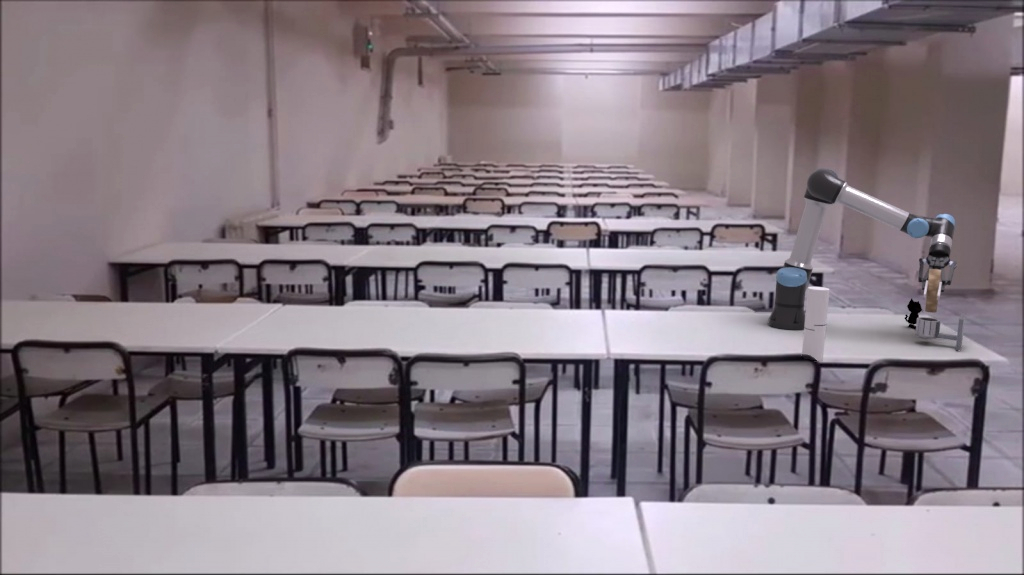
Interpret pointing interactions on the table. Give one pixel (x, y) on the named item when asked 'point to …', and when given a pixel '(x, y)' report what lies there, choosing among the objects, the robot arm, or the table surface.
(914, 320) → the cat figurine
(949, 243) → the robot arm
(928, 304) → the brown wooden block
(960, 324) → the cup bracket
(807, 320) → the cylindrical container
